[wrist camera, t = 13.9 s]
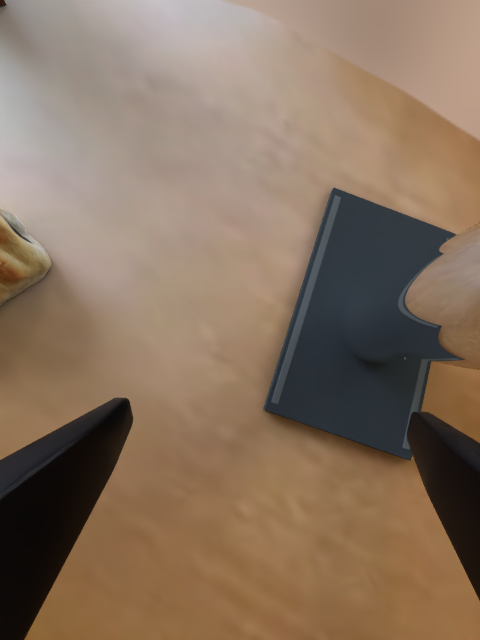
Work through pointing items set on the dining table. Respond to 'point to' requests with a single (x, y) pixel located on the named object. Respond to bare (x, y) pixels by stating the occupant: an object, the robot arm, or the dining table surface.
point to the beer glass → (422, 310)
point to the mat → (325, 337)
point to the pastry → (19, 257)
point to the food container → (2, 3)
